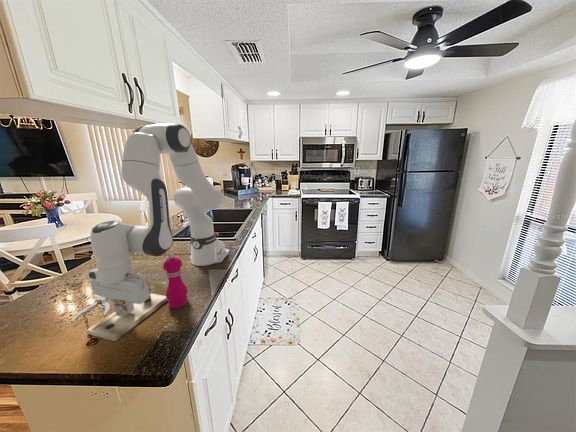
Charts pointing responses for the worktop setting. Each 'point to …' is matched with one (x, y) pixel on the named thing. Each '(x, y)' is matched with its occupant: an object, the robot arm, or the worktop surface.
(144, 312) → the board
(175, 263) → the pepper mill
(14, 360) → the worktop surface
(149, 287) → the fixed leg
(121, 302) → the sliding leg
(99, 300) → the pliers
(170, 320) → the worktop surface
